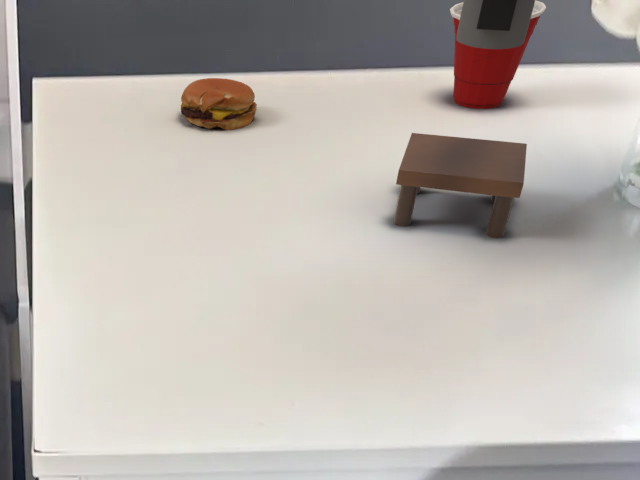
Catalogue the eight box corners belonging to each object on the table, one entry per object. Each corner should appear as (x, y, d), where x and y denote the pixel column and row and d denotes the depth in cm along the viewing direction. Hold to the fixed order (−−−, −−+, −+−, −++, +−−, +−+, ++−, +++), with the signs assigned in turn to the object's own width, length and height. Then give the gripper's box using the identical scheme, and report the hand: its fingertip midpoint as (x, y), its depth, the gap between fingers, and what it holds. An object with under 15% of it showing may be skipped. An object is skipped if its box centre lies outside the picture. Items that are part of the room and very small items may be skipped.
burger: (224, 103, 127) (226, 67, 125) (269, 122, 121) (273, 84, 118) (163, 118, 124) (164, 81, 121) (207, 138, 117) (209, 100, 114)
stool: (511, 200, 99) (527, 143, 95) (507, 243, 91) (523, 183, 87) (400, 188, 102) (411, 132, 99) (387, 228, 94) (398, 169, 91)
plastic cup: (421, 92, 128) (440, -4, 121) (502, 90, 128) (526, -7, 120) (445, 118, 120) (467, 16, 112) (533, 116, 119) (561, 13, 112)
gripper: (522, -304, 80) (459, -5, 94) (513, -307, 66) (441, 43, 80) (622, -309, 77) (542, -1, 91) (635, -313, 64) (538, 50, 78)
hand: (495, 19), depth 86 cm, fingers closed on bottle, 6 cm apart
